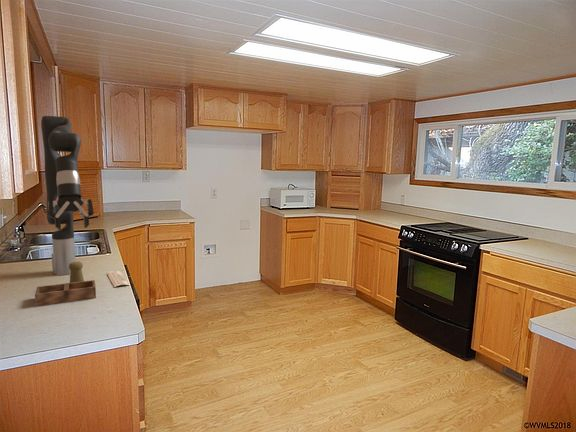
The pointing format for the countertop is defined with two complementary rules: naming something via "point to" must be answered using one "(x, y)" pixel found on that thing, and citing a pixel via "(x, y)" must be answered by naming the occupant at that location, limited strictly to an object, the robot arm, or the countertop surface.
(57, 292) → the walnut caddy
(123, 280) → the newspaper
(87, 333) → the countertop surface
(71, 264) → the cork
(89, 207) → the robot arm
